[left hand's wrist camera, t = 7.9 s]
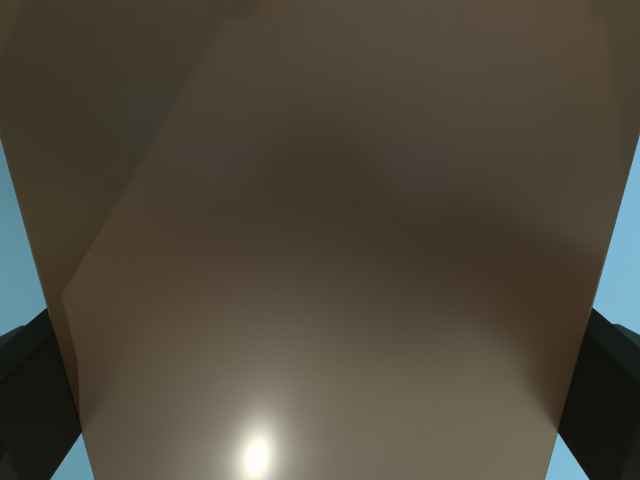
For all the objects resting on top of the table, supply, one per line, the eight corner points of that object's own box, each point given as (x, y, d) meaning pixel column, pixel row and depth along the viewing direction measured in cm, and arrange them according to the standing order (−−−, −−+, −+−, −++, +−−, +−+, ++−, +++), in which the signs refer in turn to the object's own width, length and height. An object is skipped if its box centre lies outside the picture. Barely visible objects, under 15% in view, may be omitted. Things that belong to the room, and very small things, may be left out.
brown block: (129, -188, 12) (-235, -696, 4) (509, -187, 12) (873, -696, 4) (193, 312, 18) (96, 494, 10) (445, 312, 18) (542, 494, 10)
